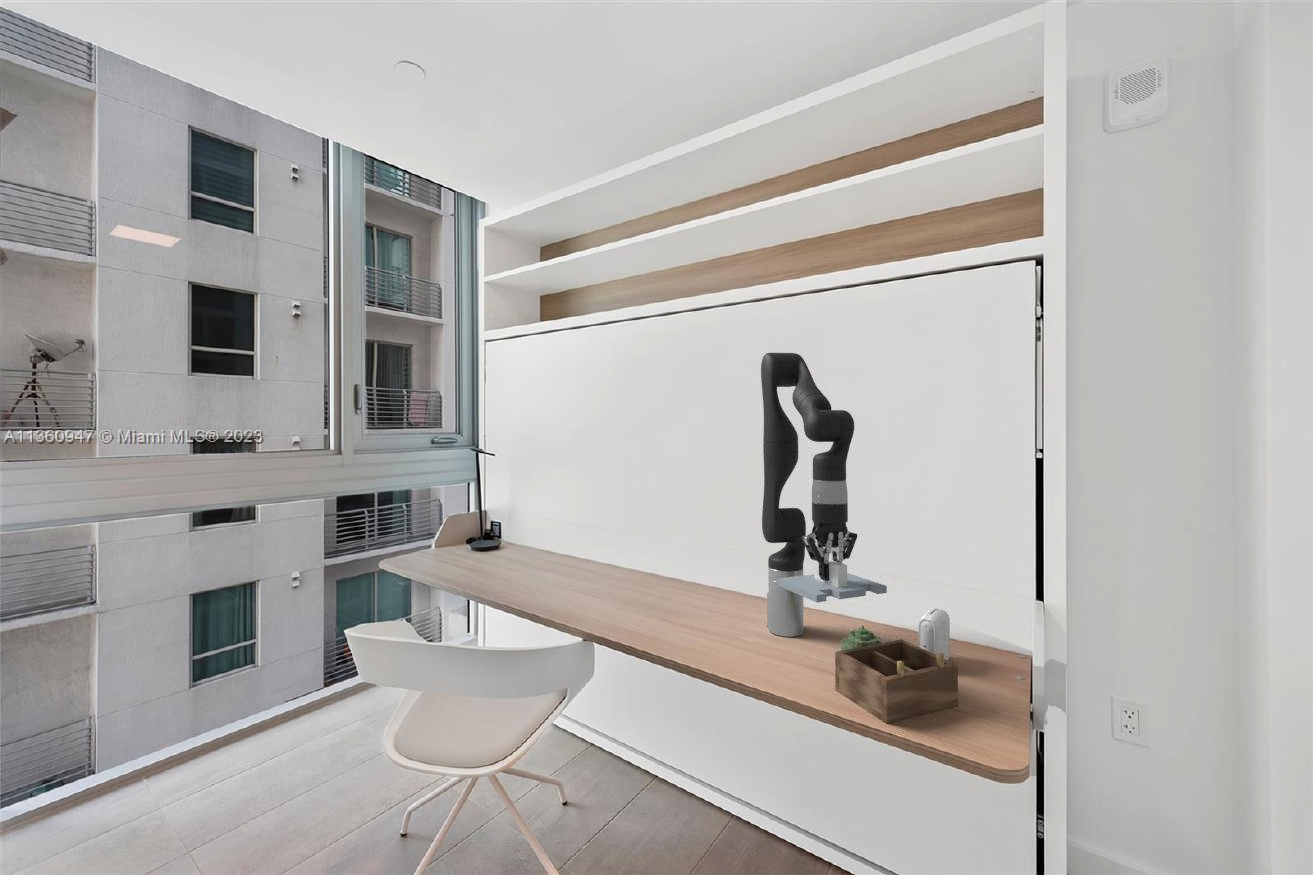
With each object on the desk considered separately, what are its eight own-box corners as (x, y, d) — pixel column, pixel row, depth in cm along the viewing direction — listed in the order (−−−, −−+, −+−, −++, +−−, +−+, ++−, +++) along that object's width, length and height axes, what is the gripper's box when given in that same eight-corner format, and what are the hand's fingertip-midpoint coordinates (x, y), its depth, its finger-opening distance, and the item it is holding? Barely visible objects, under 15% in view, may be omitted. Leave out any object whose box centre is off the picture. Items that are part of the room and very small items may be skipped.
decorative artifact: (873, 645, 135) (834, 647, 134) (873, 618, 135) (834, 619, 134) (893, 662, 125) (851, 664, 124) (893, 632, 125) (851, 634, 124)
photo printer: (936, 673, 119) (936, 617, 119) (916, 667, 122) (916, 613, 122) (952, 659, 126) (952, 607, 126) (933, 654, 129) (932, 603, 129)
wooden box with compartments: (835, 690, 111) (835, 639, 111) (901, 675, 118) (901, 627, 118) (886, 723, 98) (886, 666, 98) (958, 705, 105) (957, 652, 104)
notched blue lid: (777, 585, 121) (777, 558, 121) (842, 577, 127) (842, 552, 127) (816, 602, 108) (816, 572, 108) (886, 592, 114) (886, 564, 114)
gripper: (843, 497, 123) (844, 572, 123) (792, 500, 119) (793, 578, 118) (867, 500, 116) (867, 580, 116) (813, 504, 111) (814, 587, 111)
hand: (830, 579), depth 117 cm, fingers closed on notched blue lid, 2 cm apart
